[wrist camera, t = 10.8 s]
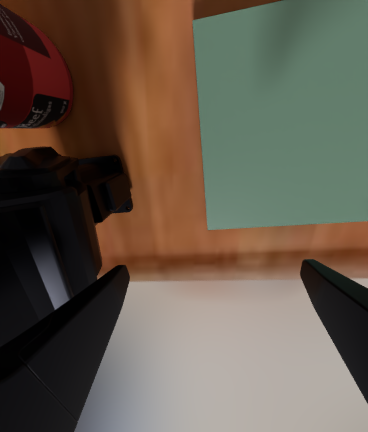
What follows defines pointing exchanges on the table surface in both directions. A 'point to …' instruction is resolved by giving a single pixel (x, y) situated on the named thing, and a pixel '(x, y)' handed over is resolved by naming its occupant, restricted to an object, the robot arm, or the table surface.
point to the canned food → (31, 76)
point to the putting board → (284, 113)
